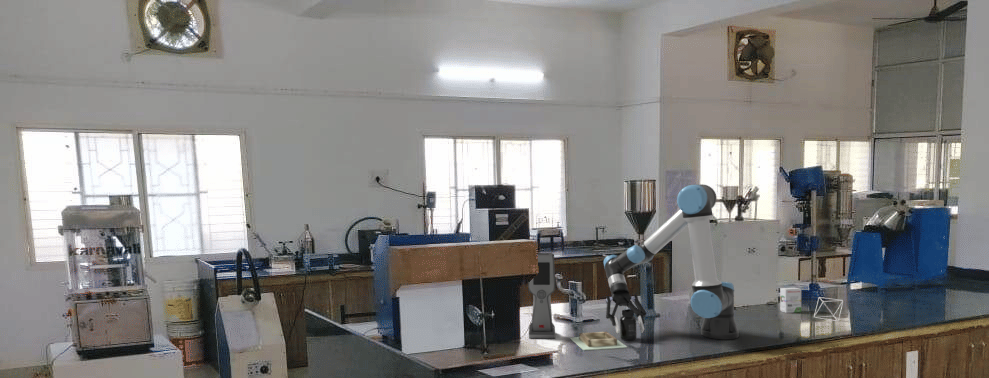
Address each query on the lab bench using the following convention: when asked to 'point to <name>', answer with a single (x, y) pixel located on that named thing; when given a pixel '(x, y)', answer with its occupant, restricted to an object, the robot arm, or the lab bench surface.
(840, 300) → the geometric polyhedron
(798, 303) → the ink box
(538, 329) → the thermal camera
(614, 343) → the wooden square frame
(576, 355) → the lab bench surface
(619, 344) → the mat
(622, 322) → the supplement bottle
